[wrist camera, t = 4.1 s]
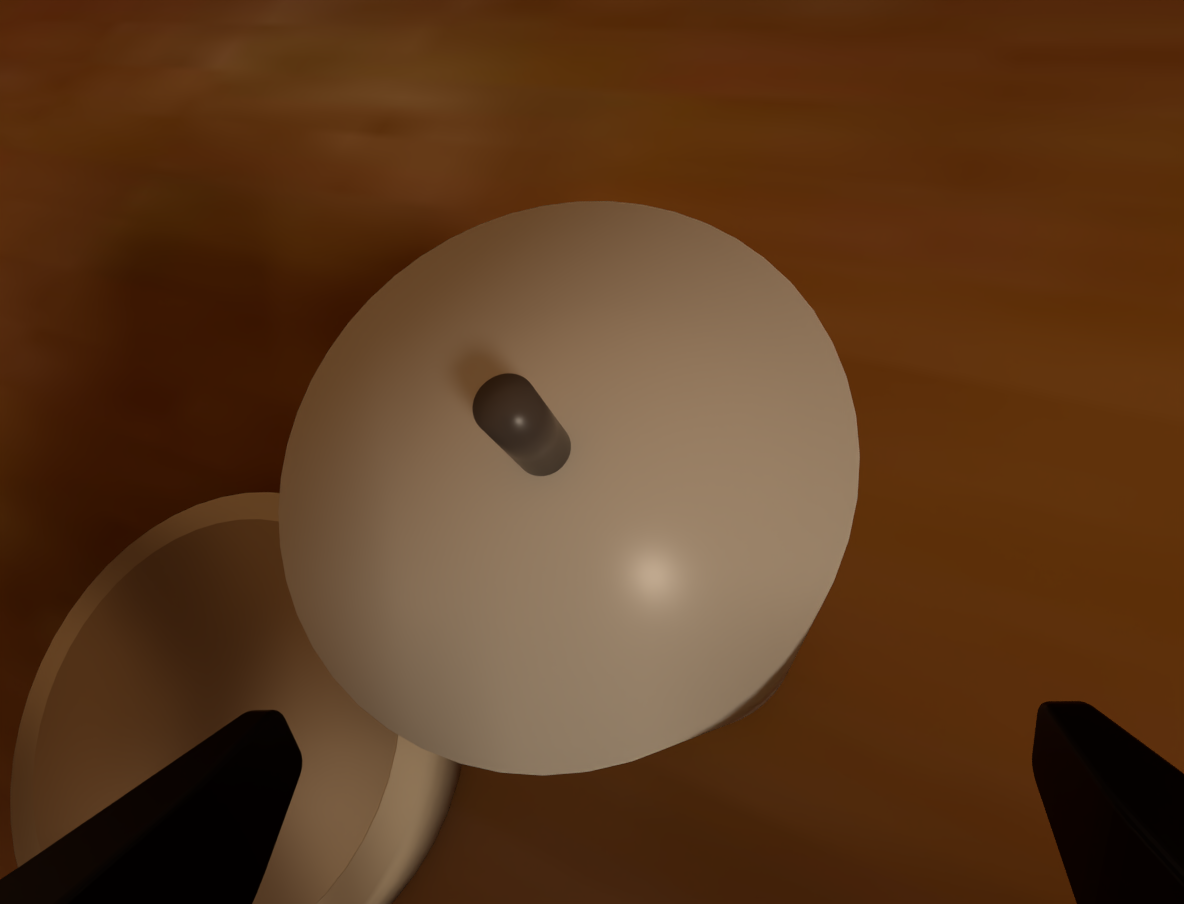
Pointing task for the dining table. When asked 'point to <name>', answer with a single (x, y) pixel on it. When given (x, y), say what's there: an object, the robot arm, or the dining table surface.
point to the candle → (570, 489)
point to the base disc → (220, 709)
